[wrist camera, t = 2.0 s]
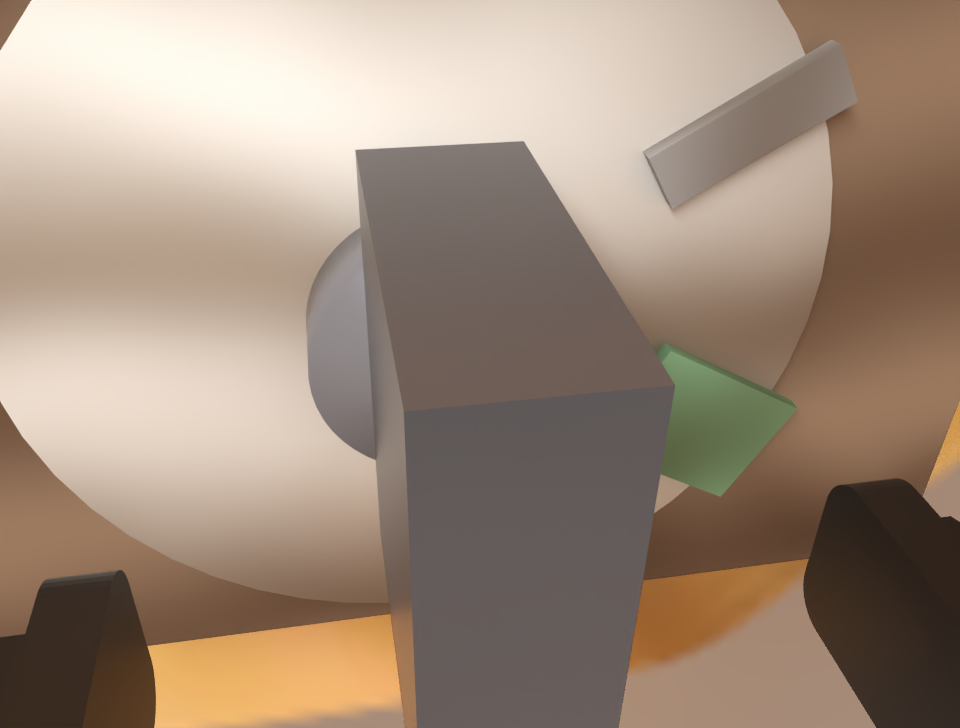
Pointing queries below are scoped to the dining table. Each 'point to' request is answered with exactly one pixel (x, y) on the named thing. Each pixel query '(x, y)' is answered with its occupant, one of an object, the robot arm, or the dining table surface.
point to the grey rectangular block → (493, 434)
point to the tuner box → (335, 215)
